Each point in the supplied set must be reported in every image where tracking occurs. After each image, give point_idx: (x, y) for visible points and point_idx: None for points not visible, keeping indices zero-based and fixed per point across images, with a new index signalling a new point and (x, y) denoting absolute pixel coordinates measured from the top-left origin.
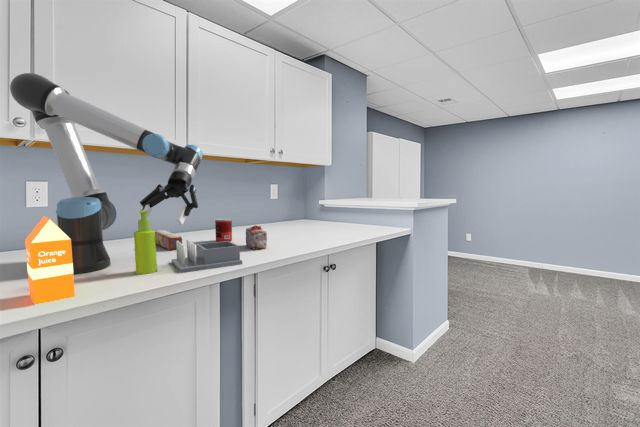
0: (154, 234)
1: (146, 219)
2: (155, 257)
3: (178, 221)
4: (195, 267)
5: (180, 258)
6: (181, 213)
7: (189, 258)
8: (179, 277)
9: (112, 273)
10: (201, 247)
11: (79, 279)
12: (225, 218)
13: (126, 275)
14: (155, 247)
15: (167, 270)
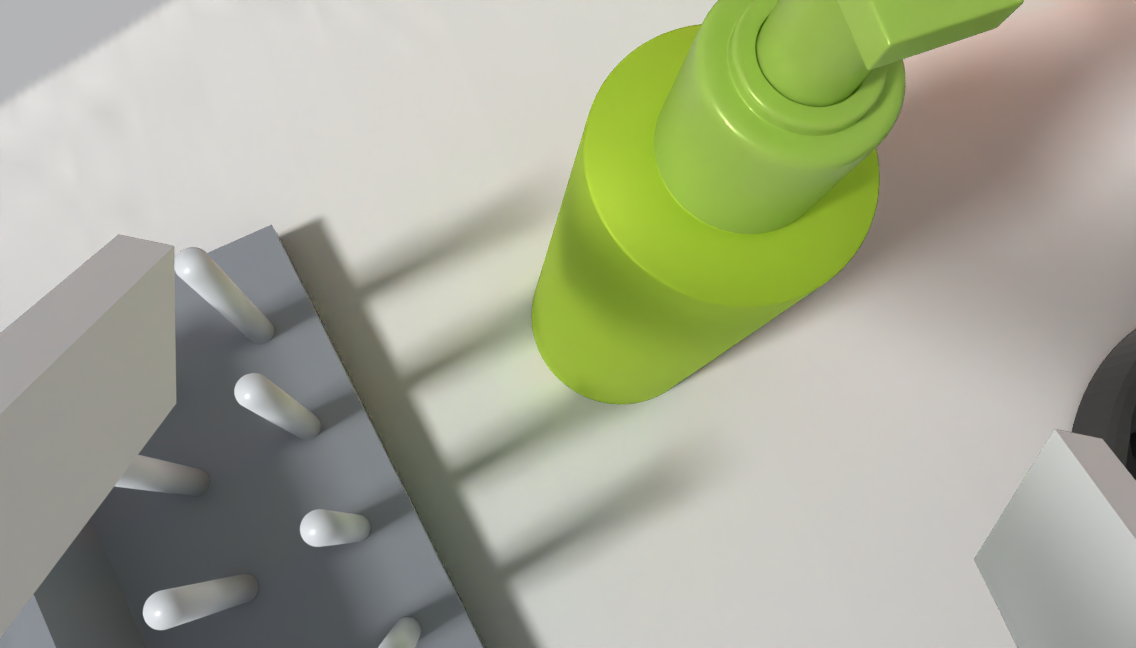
0: (577, 172)
1: (758, 34)
2: (543, 274)
3: (168, 291)
4: None
5: (307, 410)
6: (20, 350)
7: (248, 580)
8: (249, 98)
9: (892, 295)
10: None
11: (1034, 151)
12: None
13: None
14: (555, 253)
15: (435, 345)
